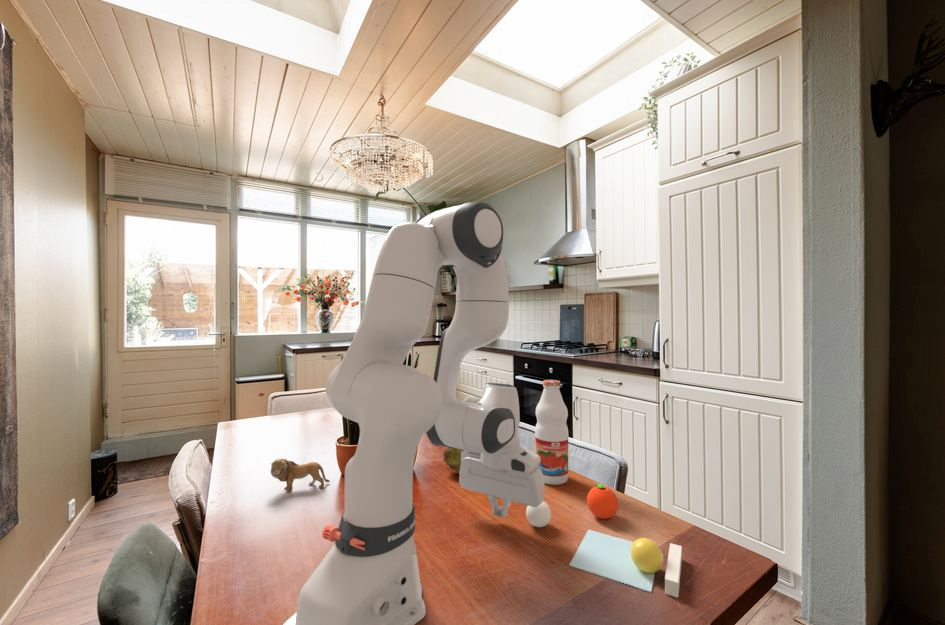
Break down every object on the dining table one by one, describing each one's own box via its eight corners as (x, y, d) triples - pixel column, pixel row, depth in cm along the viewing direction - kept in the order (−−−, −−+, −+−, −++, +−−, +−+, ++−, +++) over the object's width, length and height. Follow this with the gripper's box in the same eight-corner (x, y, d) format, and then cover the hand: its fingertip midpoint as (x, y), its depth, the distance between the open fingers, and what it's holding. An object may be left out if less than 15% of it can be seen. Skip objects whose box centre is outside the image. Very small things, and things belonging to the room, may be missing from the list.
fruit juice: (565, 472, 117) (565, 378, 117) (571, 486, 107) (571, 384, 108) (533, 471, 117) (533, 378, 118) (536, 485, 108) (536, 383, 108)
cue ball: (530, 491, 88) (522, 516, 85) (554, 500, 86) (546, 526, 83) (531, 501, 92) (523, 525, 88) (554, 510, 90) (547, 534, 86)
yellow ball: (660, 584, 68) (662, 554, 68) (626, 571, 71) (629, 542, 71) (663, 567, 73) (665, 538, 73) (631, 555, 76) (634, 528, 76)
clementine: (581, 507, 95) (581, 478, 95) (608, 506, 96) (608, 477, 96) (593, 525, 87) (593, 493, 87) (623, 524, 88) (623, 492, 88)
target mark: (651, 592, 66) (651, 591, 66) (569, 565, 73) (569, 564, 73) (659, 550, 78) (659, 549, 78) (588, 530, 85) (588, 529, 85)
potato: (477, 483, 109) (477, 455, 109) (439, 474, 115) (439, 447, 115) (491, 473, 116) (491, 446, 116) (454, 465, 122) (454, 439, 122)
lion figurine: (271, 499, 100) (271, 463, 100) (269, 491, 104) (270, 457, 104) (331, 486, 107) (331, 453, 107) (327, 479, 112) (328, 447, 112)
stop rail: (678, 598, 65) (678, 582, 65) (664, 593, 66) (664, 578, 66) (681, 559, 75) (681, 546, 75) (670, 555, 76) (670, 543, 76)
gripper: (453, 449, 91) (453, 509, 91) (536, 467, 81) (536, 534, 81) (468, 442, 97) (468, 498, 96) (547, 458, 86) (547, 521, 86)
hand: (500, 515), depth 88 cm, fingers closed
